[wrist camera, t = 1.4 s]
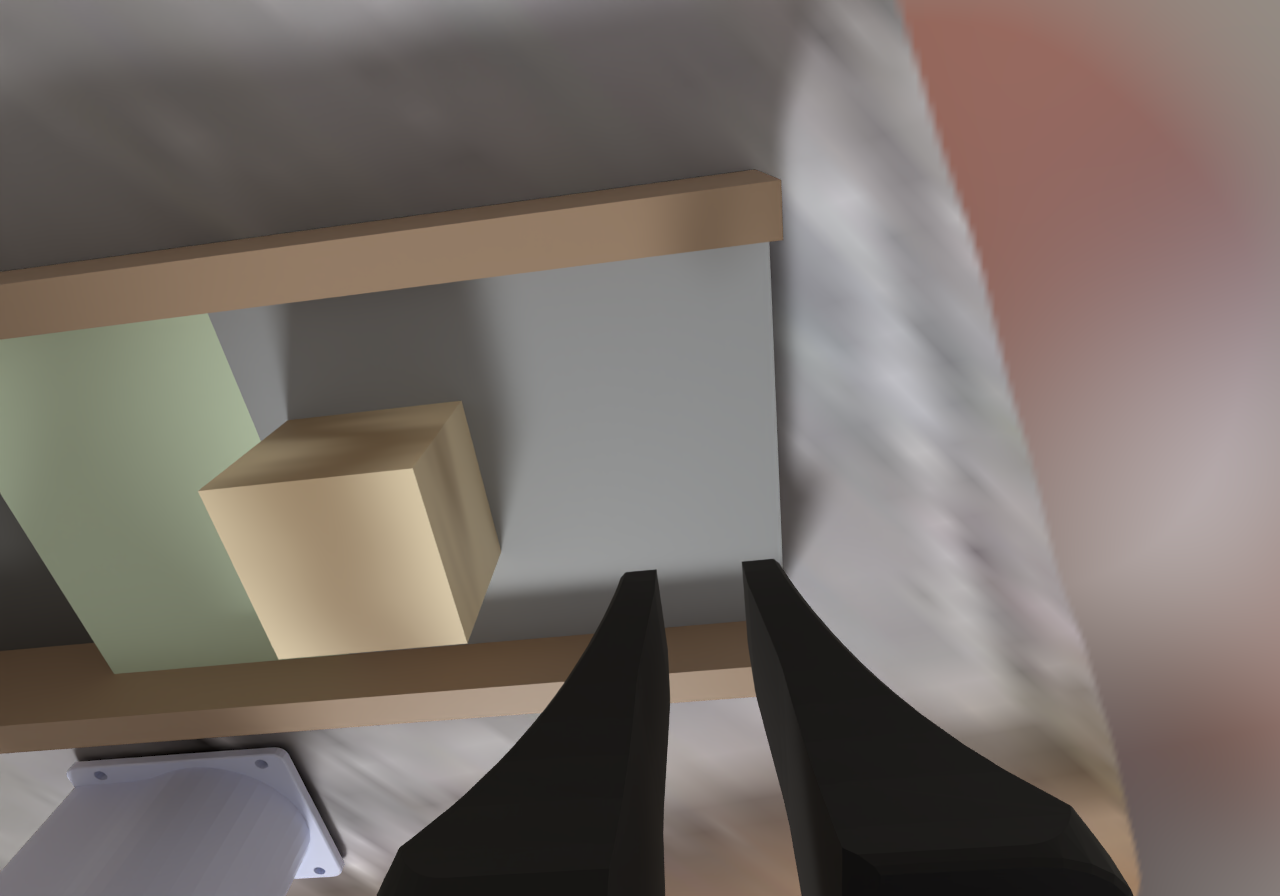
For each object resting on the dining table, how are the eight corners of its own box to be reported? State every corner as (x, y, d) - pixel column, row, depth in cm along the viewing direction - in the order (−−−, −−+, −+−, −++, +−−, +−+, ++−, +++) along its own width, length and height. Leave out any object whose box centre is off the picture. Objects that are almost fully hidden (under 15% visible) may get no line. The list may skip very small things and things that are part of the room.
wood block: (345, 566, 21) (278, 659, 17) (287, 420, 18) (197, 491, 15) (501, 551, 20) (467, 643, 17) (461, 400, 18) (412, 468, 14)
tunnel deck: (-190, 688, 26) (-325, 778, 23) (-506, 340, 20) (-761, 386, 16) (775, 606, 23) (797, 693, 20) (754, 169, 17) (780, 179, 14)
